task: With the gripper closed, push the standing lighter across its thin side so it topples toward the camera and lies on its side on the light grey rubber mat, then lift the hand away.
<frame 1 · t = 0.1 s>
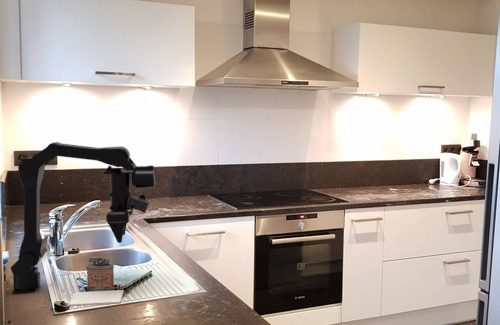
hand: (121, 238, 149), 14 cm above the worktop, fingers open, 9 cm apart
mat: (96, 298, 139), on the worktop
lighter: (100, 289, 146), on the worktop
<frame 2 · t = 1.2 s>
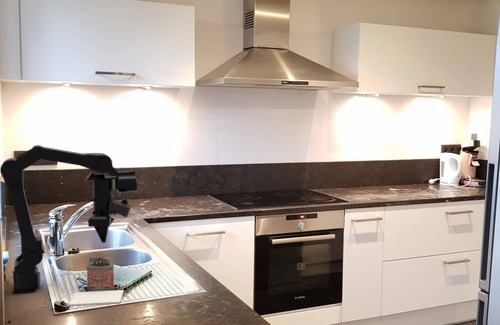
hand: (103, 242, 154), 12 cm above the worktop, fingers closed
nothing on the worktop moved.
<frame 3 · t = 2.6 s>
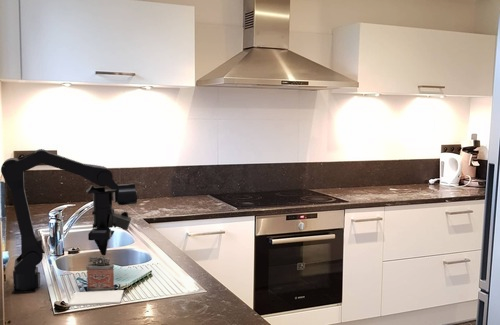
hand: (104, 255, 154), 8 cm above the worktop, fingers closed
nothing on the worktop moved.
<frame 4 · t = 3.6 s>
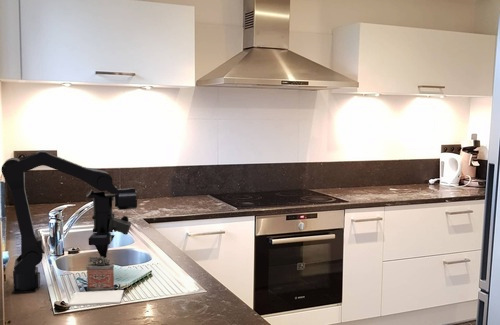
hand: (104, 259, 154), 6 cm above the worktop, fingers closed
nothing on the worktop moved.
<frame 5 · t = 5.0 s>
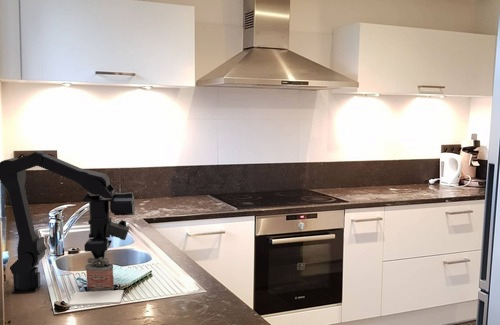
hand: (101, 266, 147), 7 cm above the worktop, fingers closed
lighter: (100, 289, 146), on the worktop, touching gripper
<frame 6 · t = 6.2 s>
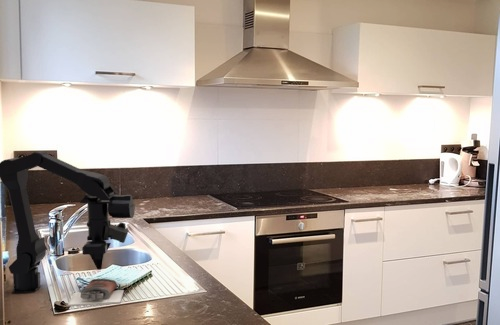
hand: (99, 269, 144), 6 cm above the worktop, fingers closed
lighter: (103, 283, 144), point 2 cm above the worktop, touching mat
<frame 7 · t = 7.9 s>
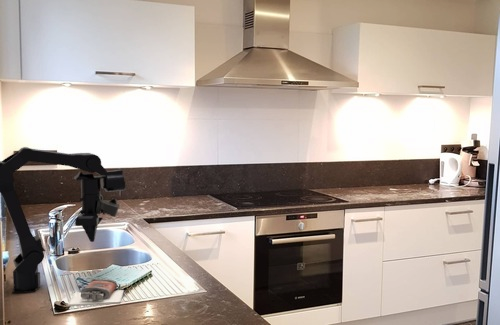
hand: (92, 241, 155), 12 cm above the worktop, fingers closed
nothing on the worktop moved.
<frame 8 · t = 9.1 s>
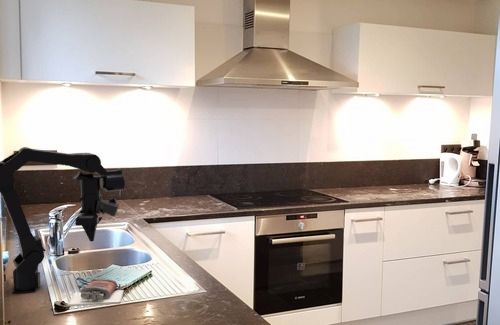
hand: (92, 241, 155), 12 cm above the worktop, fingers closed
nothing on the worktop moved.
at the end: lighter tilted 90°; lighter touching mat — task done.
